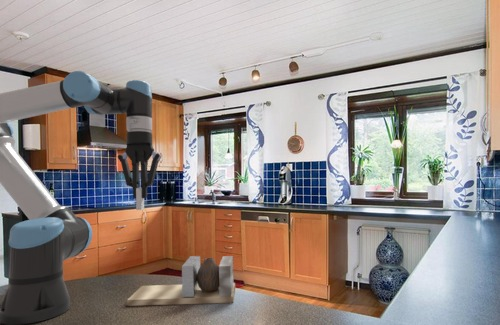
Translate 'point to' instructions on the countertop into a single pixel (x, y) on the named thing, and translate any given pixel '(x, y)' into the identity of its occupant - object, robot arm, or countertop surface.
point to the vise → (174, 296)
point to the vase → (208, 276)
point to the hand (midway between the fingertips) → (140, 209)
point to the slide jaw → (190, 276)
